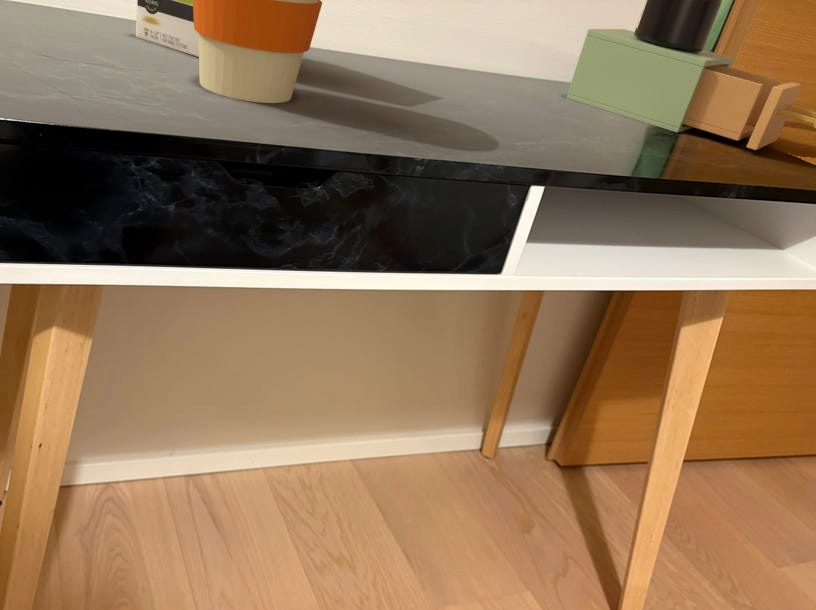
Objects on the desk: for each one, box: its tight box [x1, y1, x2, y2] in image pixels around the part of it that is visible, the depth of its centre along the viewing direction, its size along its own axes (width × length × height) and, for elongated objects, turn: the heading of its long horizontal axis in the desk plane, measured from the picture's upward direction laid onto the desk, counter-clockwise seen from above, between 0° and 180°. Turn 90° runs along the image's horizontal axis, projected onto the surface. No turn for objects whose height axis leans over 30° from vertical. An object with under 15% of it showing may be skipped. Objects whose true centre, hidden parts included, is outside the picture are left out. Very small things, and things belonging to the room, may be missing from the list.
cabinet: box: [566, 28, 734, 134], centre depth 108 cm, size 16×14×9 cm
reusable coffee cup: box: [193, 0, 323, 104], centre depth 75 cm, size 13×12×15 cm
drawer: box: [683, 65, 816, 151], centre depth 102 cm, size 20×12×7 cm, turn 52°
